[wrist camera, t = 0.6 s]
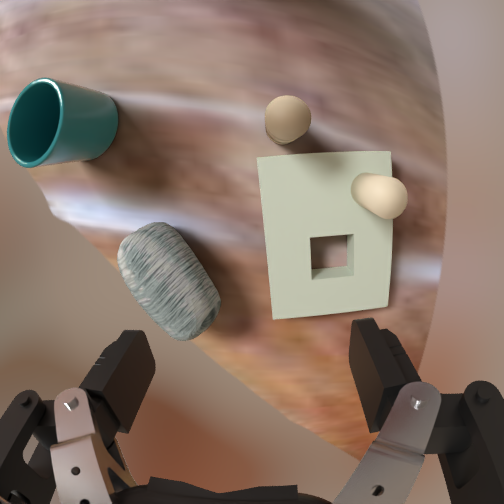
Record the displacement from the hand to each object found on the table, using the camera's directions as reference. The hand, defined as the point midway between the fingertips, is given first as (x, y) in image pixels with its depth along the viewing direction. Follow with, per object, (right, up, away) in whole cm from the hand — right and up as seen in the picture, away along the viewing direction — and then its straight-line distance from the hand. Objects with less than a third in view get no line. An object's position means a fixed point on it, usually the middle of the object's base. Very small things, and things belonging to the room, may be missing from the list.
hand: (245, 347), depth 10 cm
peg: (+4, +17, +19) cm, 25 cm away
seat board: (+9, +6, +22) cm, 24 cm away
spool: (-9, +2, +25) cm, 26 cm away
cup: (-21, +20, +19) cm, 35 cm away
